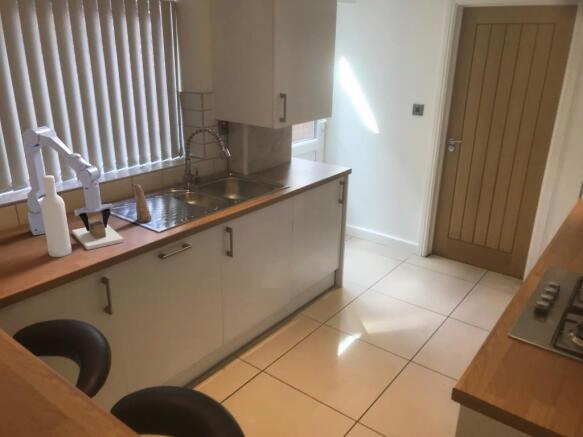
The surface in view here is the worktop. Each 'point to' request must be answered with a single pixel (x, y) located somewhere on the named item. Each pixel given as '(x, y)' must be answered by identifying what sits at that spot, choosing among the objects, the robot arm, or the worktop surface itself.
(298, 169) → the worktop surface
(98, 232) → the walnut block
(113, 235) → the cutting board
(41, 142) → the robot arm
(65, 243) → the bottle
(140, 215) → the tan tapered horn
